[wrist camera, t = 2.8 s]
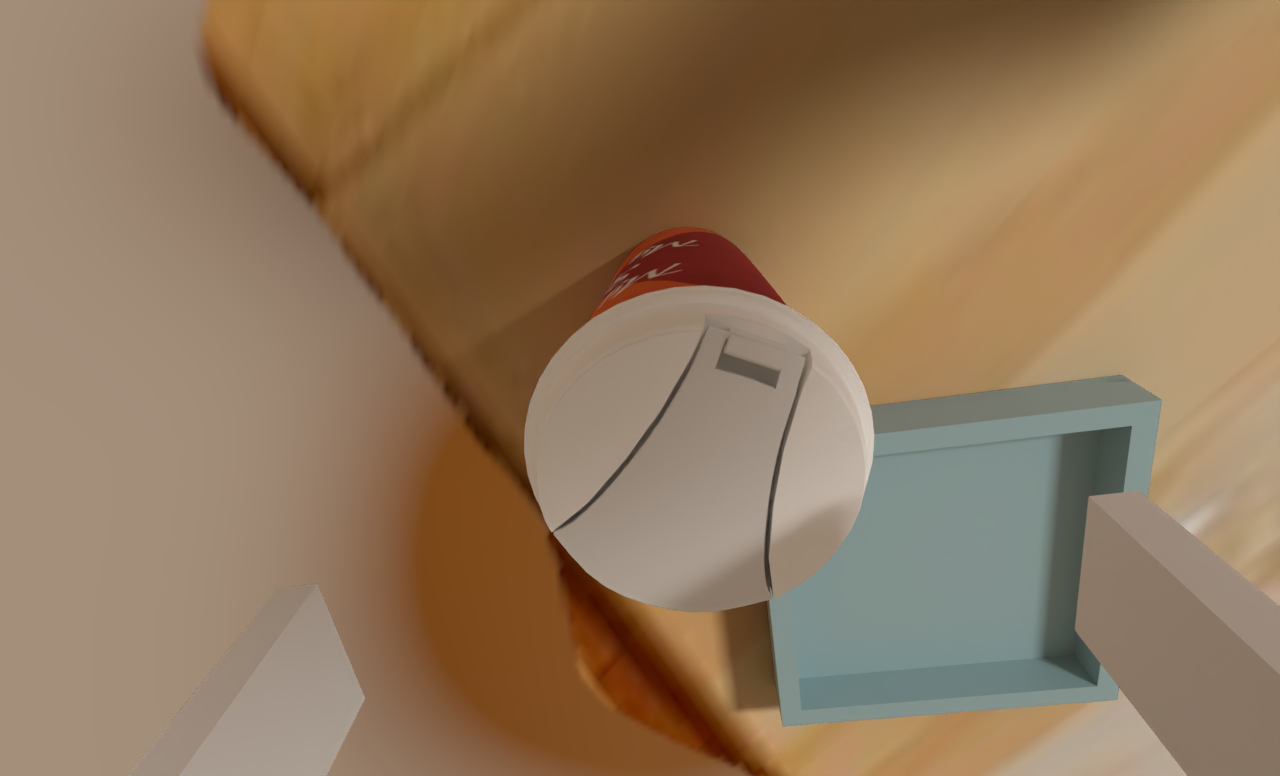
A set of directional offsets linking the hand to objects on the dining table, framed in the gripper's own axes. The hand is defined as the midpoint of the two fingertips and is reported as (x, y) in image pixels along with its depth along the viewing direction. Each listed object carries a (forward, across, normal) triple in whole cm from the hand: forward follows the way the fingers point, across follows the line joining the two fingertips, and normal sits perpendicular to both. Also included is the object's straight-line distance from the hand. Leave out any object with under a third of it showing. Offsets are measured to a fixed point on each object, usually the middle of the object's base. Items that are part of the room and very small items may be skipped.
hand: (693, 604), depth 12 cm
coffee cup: (+19, 0, 0) cm, 19 cm away
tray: (+18, +10, -14) cm, 25 cm away
